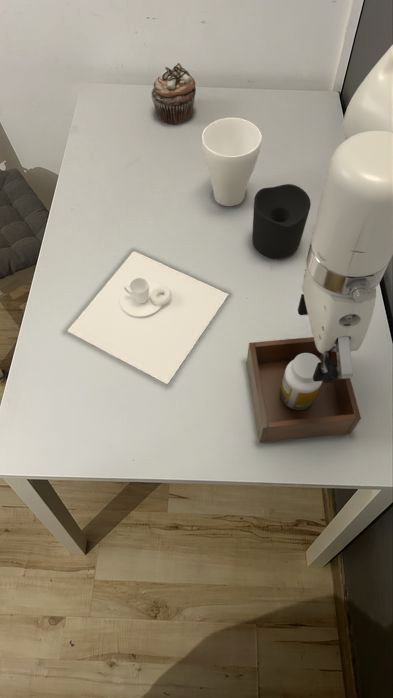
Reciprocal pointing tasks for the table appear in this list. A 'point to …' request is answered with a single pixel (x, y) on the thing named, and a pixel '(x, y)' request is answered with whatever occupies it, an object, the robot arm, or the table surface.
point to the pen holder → (279, 220)
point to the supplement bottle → (300, 382)
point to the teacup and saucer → (149, 316)
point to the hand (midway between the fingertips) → (317, 344)
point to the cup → (230, 157)
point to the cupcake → (174, 95)
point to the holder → (286, 423)
